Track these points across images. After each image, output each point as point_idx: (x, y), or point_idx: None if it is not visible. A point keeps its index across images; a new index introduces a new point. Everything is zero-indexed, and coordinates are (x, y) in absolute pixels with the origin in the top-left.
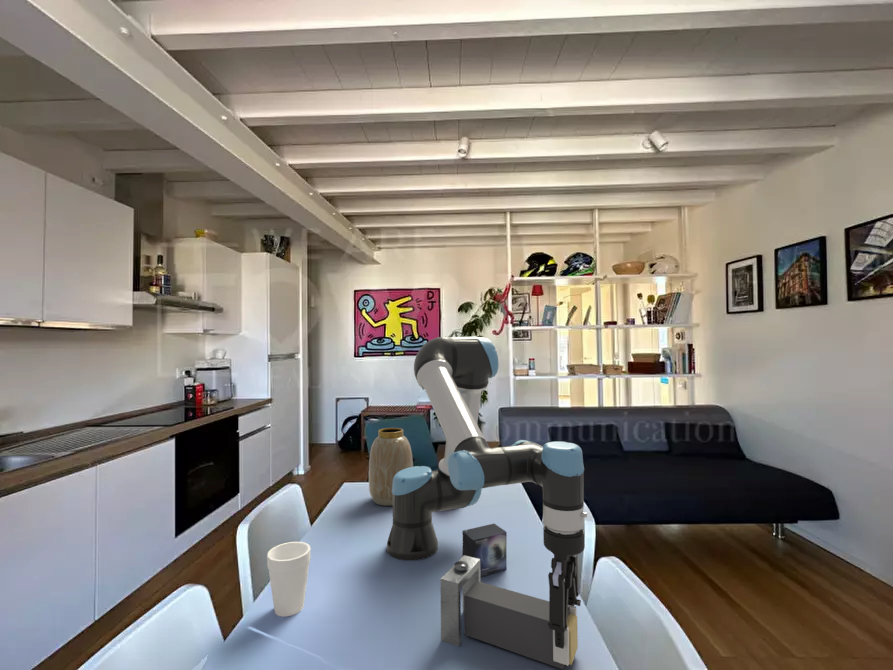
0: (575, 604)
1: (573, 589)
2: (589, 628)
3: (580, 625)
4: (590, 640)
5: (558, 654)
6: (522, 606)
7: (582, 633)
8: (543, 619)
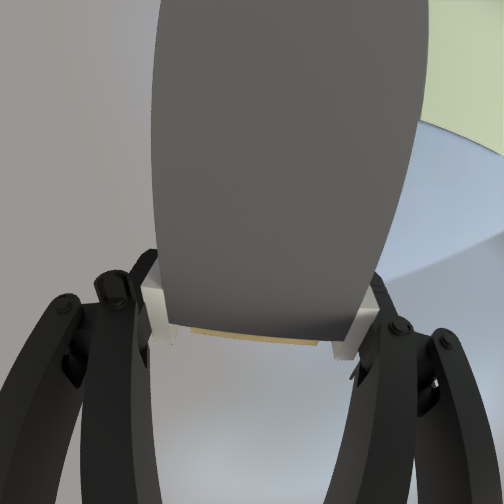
0: (357, 365)
1: (341, 451)
2: (429, 263)
3: (439, 241)
4: (383, 269)
5: None
6: (240, 43)
7: (409, 248)
8: (157, 231)
